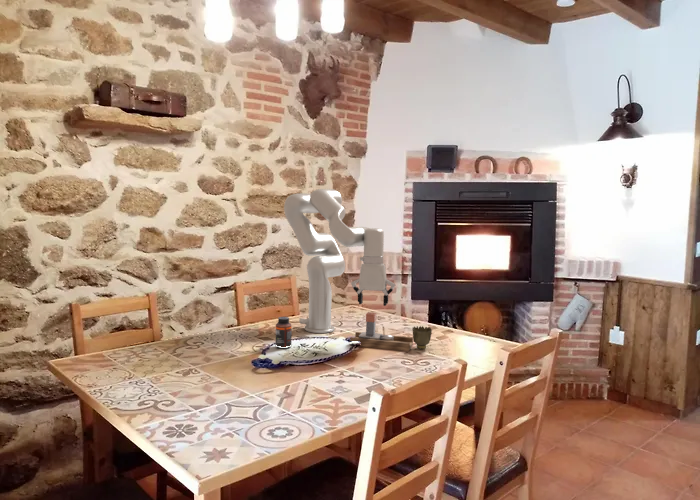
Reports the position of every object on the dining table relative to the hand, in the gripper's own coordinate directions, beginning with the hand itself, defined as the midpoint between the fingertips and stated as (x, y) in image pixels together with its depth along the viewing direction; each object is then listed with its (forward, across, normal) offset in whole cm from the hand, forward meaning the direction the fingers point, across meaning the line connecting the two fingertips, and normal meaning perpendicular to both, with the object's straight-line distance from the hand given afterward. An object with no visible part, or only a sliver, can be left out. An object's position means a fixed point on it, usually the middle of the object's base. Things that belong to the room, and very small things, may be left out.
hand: (372, 304), depth 217 cm
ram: (+14, +2, 0) cm, 14 cm away
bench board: (+16, +4, 0) cm, 16 cm away
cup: (+16, +19, 0) cm, 25 cm away
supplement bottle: (+15, -31, -16) cm, 38 cm away
